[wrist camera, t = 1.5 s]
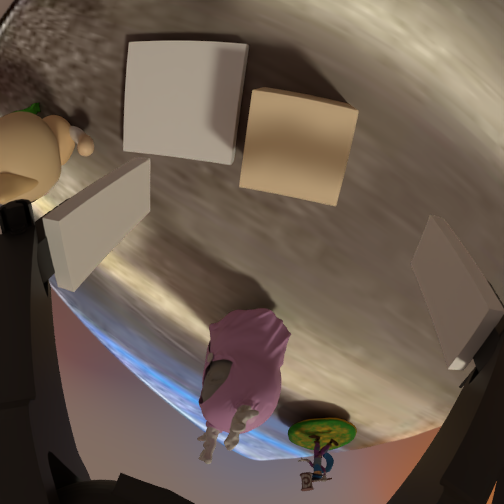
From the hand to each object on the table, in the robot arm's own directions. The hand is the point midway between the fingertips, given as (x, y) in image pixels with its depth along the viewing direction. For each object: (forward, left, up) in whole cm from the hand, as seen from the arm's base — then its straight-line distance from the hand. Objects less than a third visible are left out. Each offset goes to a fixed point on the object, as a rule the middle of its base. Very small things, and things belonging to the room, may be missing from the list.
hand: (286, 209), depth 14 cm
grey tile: (-2, -12, -18) cm, 22 cm away
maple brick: (0, 0, -18) cm, 19 cm away
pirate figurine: (+49, +16, -18) cm, 55 cm away
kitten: (+3, -29, -18) cm, 35 cm away
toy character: (+25, -1, -18) cm, 31 cm away
